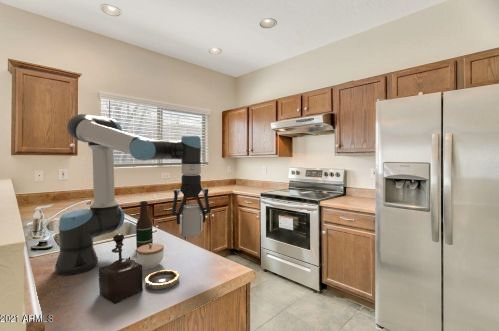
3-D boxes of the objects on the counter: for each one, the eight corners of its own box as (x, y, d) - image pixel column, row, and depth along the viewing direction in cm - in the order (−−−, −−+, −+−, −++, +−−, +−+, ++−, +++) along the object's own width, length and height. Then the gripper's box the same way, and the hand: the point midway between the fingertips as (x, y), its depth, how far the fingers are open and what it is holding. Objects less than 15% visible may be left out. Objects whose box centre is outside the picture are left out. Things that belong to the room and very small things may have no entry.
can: (195, 238, 101) (195, 208, 100) (178, 237, 103) (178, 206, 102) (203, 233, 108) (203, 204, 108) (187, 231, 110) (187, 203, 109)
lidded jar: (168, 265, 112) (168, 243, 112) (144, 273, 104) (143, 250, 104) (156, 258, 119) (156, 238, 119) (132, 265, 112) (132, 244, 111)
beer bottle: (147, 245, 137) (146, 199, 136) (156, 248, 133) (155, 201, 132) (133, 249, 131) (132, 201, 130) (141, 252, 126) (141, 203, 125)
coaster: (139, 289, 92) (139, 284, 92) (154, 274, 103) (154, 269, 103) (172, 290, 91) (171, 285, 91) (182, 275, 103) (182, 270, 102)
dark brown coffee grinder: (145, 290, 92) (144, 239, 91) (113, 304, 83) (112, 248, 82) (122, 277, 101) (121, 231, 100) (91, 289, 92) (90, 239, 91)
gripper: (164, 175, 97) (164, 236, 98) (218, 174, 104) (217, 231, 105) (164, 174, 104) (164, 230, 106) (214, 173, 111) (214, 226, 112)
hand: (191, 231), depth 105 cm, fingers closed on can, 7 cm apart
